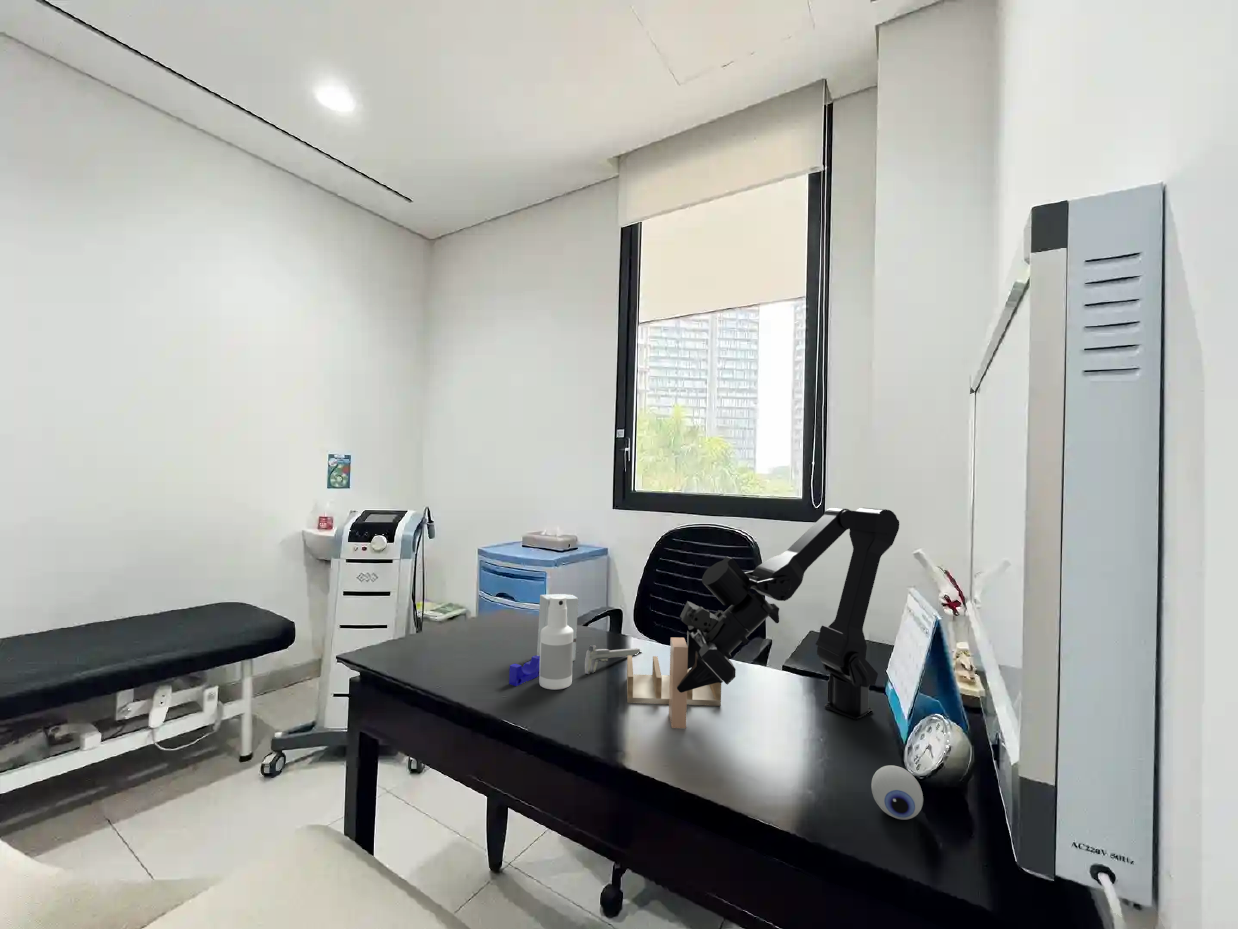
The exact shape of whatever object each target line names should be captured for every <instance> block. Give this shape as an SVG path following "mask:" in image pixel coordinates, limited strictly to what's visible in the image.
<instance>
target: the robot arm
mask: <svg viewBox="0 0 1238 929" xmlns="http://www.w3.org/2000/svg"><path fill="white" fill-rule="evenodd" d="M899 529H900V519H899V518H897V515H896V514H895V513H894V511H892V510H889V509H884V508H873V507H861V508H858V509H856V510H850V509H848V508H844V507H829V508H827V509H826V510H825V511H824V512H823V515H822V516H821V517H820V518H819V519H818V520H817V521H816V522H815V523H814V524H813V525H812V526H811V527H809V528H808V529H807V530H806V531H805V532H804V533H803V534H802V535H800V537H799V538H798V539H797V540H796V541H795V542H794V543H793V544H792V545H790V547H789V548H788V549H786V550H785V551H784V552H782V553H780V554H777V555H775V556H772V557H770V558H768V559H767V560H765V561H763V562H762V563H760V564H759V565H757V566H756V567H755V568H754V570H749V571H746V572H745V571H743V569H742V568H741V567H740V566H739V565H738V563H737V561H736V560H734V558H733V557H729V556H725V557H724V558H723V560H720V561H718V562H715V563H714V564H712V565H711V566H709V567H708V568H707V569H706V570H705V571H704V574H703V575H702V578H701V582H702V584H703V585H704V586H705V588H707V589H708V590H709V591H710V592H711V594H712V595H714V597H715V598H716V599H717V600H718V601H719V602H720V603H721V604H722V605H723V606H727V607H728V606H729V607H728V608H727V609H726V610H725V611H723V610H717V611H716V612H715V613H712V612H710V611H709V609H705V608H704V607H703V606H699V605H696V604H695V603H693V602H691V601H688V600H687V601H686V603H685V605H684V608H683V609H682V612H681V613H680V615H679V618H681V622H682V623H683V624H685V625H686V626H687V628H688V630H687V632H686V635H687V636H686V637H687V638H686V639H687V640H686V641H687V642H686V644H687V646H688V666H687V669H690V670H689V672H688V673H687V674H686V675H685V677H684V678H683V679H682V681H681V682H680V683H679V685H678V686H677V690H678V691H679V692H681V693H682V692H685V691H689V690H692V689H695V688H699V687H702V686H706V685H710V684H714V683H721V684H723V682H724V684H726V685H729V684H730V683H731V682H732V681H733V680H734V679H735V678H736V674H737V673H736V667H735V665H734V664H733V662H732V661H731V660H730V659H731V658H733V656H732V655H731V653H732V652H733V651H734V650H735V649H736V648H737V647H738V646H740V644H741V643H743V645H746V644H747V643H748V642H749V639H748V637H749V636H750V635H751V634H752V633H753V632H754V631H755V630H756V629H757V628H758V627H759V626H760V625H761V624H762V623H763V622H764V621H765V620H766V619H767V618H769V619H770V620H772V621H773V622H774V623H775V624H778V623H779V622H780V616H779V612H780V608H779V606H777V605H776V604H775V603H769V602H768V600H766V598H765V597H768V598H771V599H772V600H773V599H774V600H775V601H779V602H780V601H781V602H786V601H788V600H789V599H791V598H792V597H793V595H794V594H795V593H796V592H797V590H798V588H800V586H801V584H802V583H803V579H804V576H805V575H804V574H805V573H806V571H807V569H808V568H810V567H811V566H812V565H813V563H815V562H816V561H817V559H819V558H820V557H821V556H822V555H823V554H824V553H825V552H826V551H827V550H828V549H829V548H830V547H831V546H832V545H833V544H834V543H835V542H836V541H837V540H838V539H839V538H840V537H841V536H842V535H843V534H844V533H845V532H846V531H847V530H849V534H848V535H849V538H850V541H851V545H852V553H851V557H850V562H849V565H848V569H847V573H846V577H845V581H844V585H843V588H842V592H841V597H840V600H839V605H838V608H837V611H836V615H835V618H834V620H833V621H832V622H831V623H830V624H829V625H828V626H827V625H823V624H822V625H821V626H820V629H819V635H818V638H817V641H816V642H815V646H817V647H816V648H817V650H816V655H817V656H818V658H819V660H820V662H821V663H822V666H823V670H824V671H825V672H828V673H829V679H828V680H827V682H826V684H827V688H826V691H827V692H826V702H828V703H826V704H824V708H825V709H828V710H830V711H833V712H835V711H836V712H835V713H837V712H838V714H840V715H843V716H846V717H848V718H850V719H852V718H854V719H853V720H855V719H857V720H859V719H858V718H860V719H861V718H863V717H865V716H867V715H868V714H867V713H869V712H870V711H874V709H873V708H872V707H870V706H869V703H870V702H869V701H870V700H869V698H870V696H869V695H870V693H869V692H870V687H871V686H874V685H876V682H877V679H878V677H879V676H878V675H879V673H878V672H877V671H876V670H875V669H874V667H873V666H872V665H871V664H870V662H868V661H867V659H866V658H867V649H868V645H867V642H866V637H865V634H864V623H865V620H866V616H867V613H868V612H867V611H868V609H869V605H870V600H871V596H872V593H873V588H874V585H875V580H876V578H877V577H876V576H877V572H878V569H879V565H880V560H881V558H882V556H883V555H884V554H885V553H886V552H887V551H888V550H889V549H890V548H891V547H892V546H893V544H894V542H895V540H896V538H897V534H898V532H899ZM750 589H753V590H755V591H756V592H757V593H753V592H751V591H750ZM764 596H765V597H764ZM866 714H867V715H866ZM869 714H870V713H869ZM864 715H865V716H864ZM862 716H863V717H862Z"/></svg>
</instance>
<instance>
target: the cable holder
mask: <svg viewBox="0 0 1238 929" xmlns="http://www.w3.org/2000/svg"><path fill="white" fill-rule="evenodd" d="M539 669H540V656H537V654H536V655H533V656H531V660H529V661H526V662H525V663H523V665H521V664H518V663H513V664H510V665H509V671H508V672H509V677H508V684H509V685H511V686H513V687H518V686H520V685H522V683H523V684H525V683H527V682H529V681H531V680H534V679H536V678H539V677H538V676H539ZM526 681H527V682H526ZM524 682H525V683H524Z"/></svg>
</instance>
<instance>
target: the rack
mask: <svg viewBox="0 0 1238 929" xmlns="http://www.w3.org/2000/svg"><path fill="white" fill-rule="evenodd" d="M626 658H627V659H626V660H627V663H626V690H627V692H626V697H627V698H626V700H627V704H652V705H654V704H655V705H669V685H670V674H669V675H668V674H667V675H664V674H662V673H661V666H660V663H659V662H660V661H659V657H658V656H656V655H655V656H654V655H653V656H652V673H651V674H637V673H636V674H634V667H633V666H634V664H633V656H628V655H627V656H626ZM690 669H691V668H689V669H687V673H688V672H689V670H690ZM721 702H722V683H714V684H710V685H706V686H702V687H699V688H695V689H692V690H689V691H687V706H688V705H690V706H713V707H714V706H720V707H721V706H722V703H721Z"/></svg>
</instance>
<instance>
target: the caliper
mask: <svg viewBox="0 0 1238 929" xmlns="http://www.w3.org/2000/svg"><path fill="white" fill-rule="evenodd" d="M640 651H641V649H640V648H637V647H636V648H621V649H612V650H610V649H608V648H598V649H597V645H594V644H593V645H589V646H588V650H586V652H585V653H586V654H585V659H584V674H587V675H590V673H592V674H594V672H595V673H596V670H597V667H598V665H599V662H602V663H605V662H607V663H608V661H609V659H612V658H621V657H622V658H624V657H627V655H628V656H632V657H634V656H633V655H635V654H637V653H638V652H640ZM635 656H636V655H635Z"/></svg>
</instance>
